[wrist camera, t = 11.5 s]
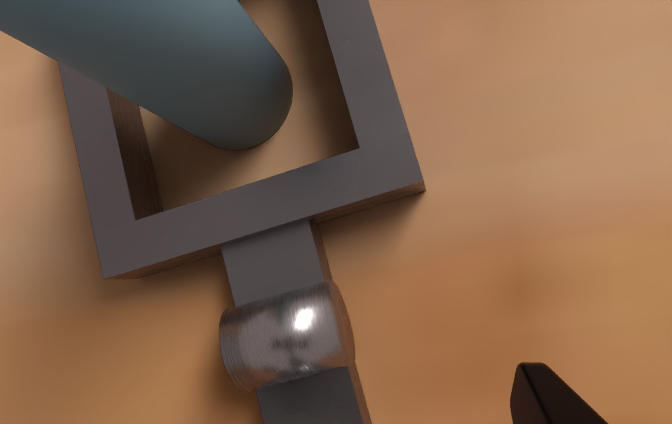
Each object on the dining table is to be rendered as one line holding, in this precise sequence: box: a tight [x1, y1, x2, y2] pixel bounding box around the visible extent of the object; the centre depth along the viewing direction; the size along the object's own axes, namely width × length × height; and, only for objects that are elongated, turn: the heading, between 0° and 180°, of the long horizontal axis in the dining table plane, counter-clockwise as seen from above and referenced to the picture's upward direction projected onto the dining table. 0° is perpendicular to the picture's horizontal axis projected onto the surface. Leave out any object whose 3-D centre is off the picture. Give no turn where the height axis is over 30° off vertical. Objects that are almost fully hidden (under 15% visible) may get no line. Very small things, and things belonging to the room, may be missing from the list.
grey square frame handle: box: [58, 0, 426, 424], centre depth 18 cm, size 30×10×3 cm, turn 16°
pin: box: [0, 0, 293, 150], centre depth 13 cm, size 4×4×13 cm
